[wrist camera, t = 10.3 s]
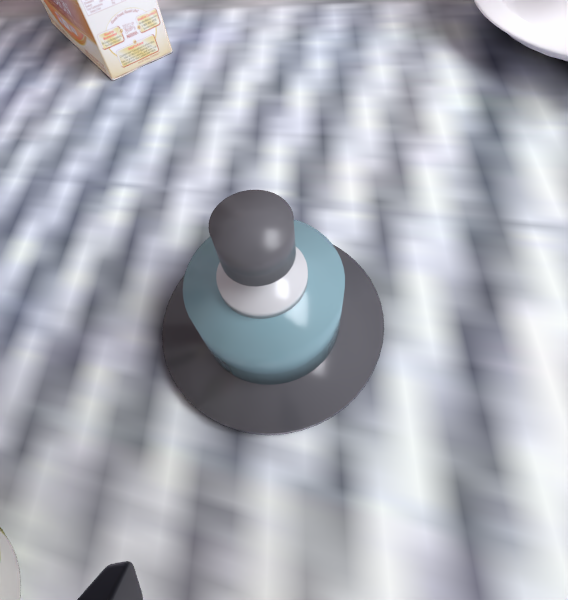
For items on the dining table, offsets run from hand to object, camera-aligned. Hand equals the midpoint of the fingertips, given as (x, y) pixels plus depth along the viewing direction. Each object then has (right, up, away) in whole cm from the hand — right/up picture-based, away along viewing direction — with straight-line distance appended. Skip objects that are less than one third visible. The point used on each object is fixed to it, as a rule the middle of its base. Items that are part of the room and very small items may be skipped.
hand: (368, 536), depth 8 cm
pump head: (-3, +6, +11) cm, 13 cm away
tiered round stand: (-2, +3, +16) cm, 17 cm away
